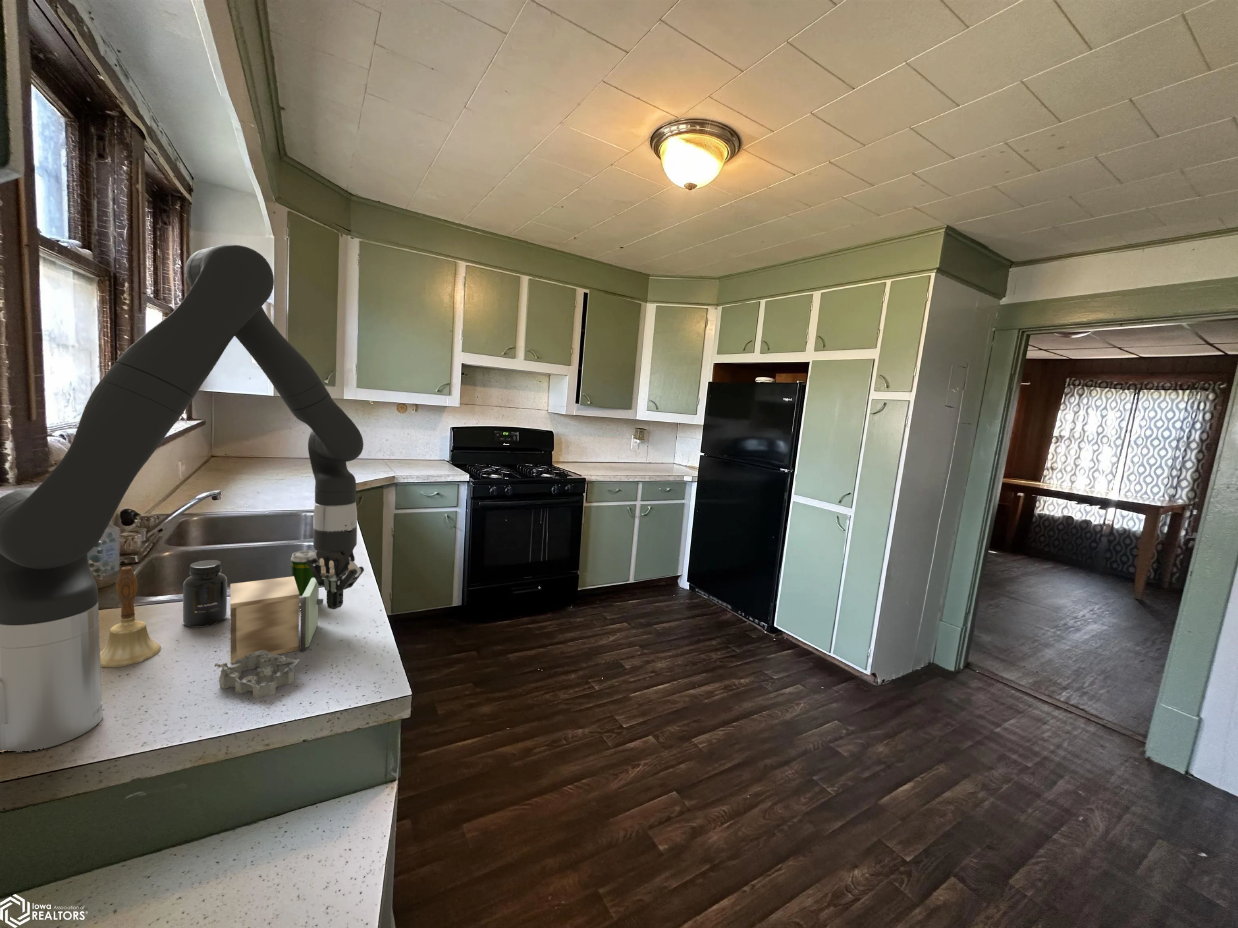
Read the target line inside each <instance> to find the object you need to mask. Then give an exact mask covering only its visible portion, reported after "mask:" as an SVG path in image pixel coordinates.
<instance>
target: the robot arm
mask: <svg viewBox="0 0 1238 928" xmlns="http://www.w3.org/2000/svg"><path fill="white" fill-rule="evenodd" d="M184 269H185V271H184V273H185V277H186V280H187V283H188V285H189V286H190V290H188V293H186V295H185V297H184V298H183V299H182V301H181V302H180V304H179V305H177V307H176V308H175V309H174V310H173V311H172V312H171V313H170V314H169V315H168V316H167V317H165V318H164V319H163V320H162V321H160V322H159V323H157V324H156V325H154V326H153V327H151V329H150V330H148V331H146V333H144V334H143V335H142V336H141V337H140V338H138V339H137V340H136V341H135V342H134V343H133V344H131V345H130V346H129V347H127V349H125V351H123V353H122V354H121V355H120V356H119V357H118V358H117V359H116V361H114V362H115V363H113V364H112V366H111V367H110V368H109V370H108V371H106V373H105V374H104V376H103V377H102V378H101V379H100V381H99V382H98V383H97V385H96V386H95V388H94V389H93V391H92V392H91V394H90V396H89V398H88V400H87V402H86V403H85V406H84V408H83V411H82V414H81V416H80V418H79V419H80V420H79V422H78V426H77V427H76V431H75V434H74V436H73V440H72V442H71V444H70V446H69V447H68V449H67V451H66V453H65V454H64V455H63V458H62V459H60V461H59V463H58V464H57V465H56V467H54V469H52V471H51V472H50V473H49V474H48V476H47V477H46V478H45V479H44V480H43V482H41V483H40V485H39V486H38V487H28V488H22V489H17V490H15V491H11V492H9V493H6V494H5V495H2V496H0V751H2V750H10V751H17V752H16V753H23V752H22V751H29V752H32V751H31V750H35V751H39V750H38V749H40V750H44V749H48V748H52V747H55V746H58V745H61V744H64V743H66V742H69V741H71V740H75V738H77V737H80V736H81V735H84V734H86V733H87V732H89V731H91V730H92V729H94V728H95V727H96V726H97V725H98V724H99V723H100V722H101V721H102V719H103V693H102V688H103V687H102V686H103V685H102V667H101V661H100V652H101V644H100V643H101V641H100V637H101V636H100V619H99V615H100V613H99V592H98V591H99V590H98V584H97V581H96V580H95V578H94V575H93V573H92V570H91V568H90V563H89V558H88V553H90V551H92V549H93V548H95V547H96V546H97V545H98V543H99V542H100V540H101V539H102V537H103V535H104V534H105V532H106V530H107V528H108V526H109V525H110V522H111V521H112V519H113V517H114V515H115V513H116V511H117V509H118V508H119V506H120V504H121V503H122V500H123V499H124V497H125V495H126V493H127V492H128V490H129V488H130V486H131V485H132V482H133V481H134V479H135V478H136V476H138V473H140V471H141V470H142V468H143V467H144V466H145V464H146V463H147V462H148V461H149V460H150V458H151V457H152V455H153V454H154V453H155V451H157V448H158V447H159V446H160V445H161V443H162V442H163V441H164V439H165V438H166V436H167V435H168V433H169V432H170V431H171V429H172V428H173V427H174V426H175V424H176V423H177V422H178V421H179V419H180V418H181V416H182V415H183V414H184V412H186V410H187V408H188V407H189V405H191V402H192V401H193V400H194V398H195V396H196V395H197V393H198V392H199V390H200V389H201V387H202V385H204V384H203V383H205V381H206V380H207V378H208V377H209V375H210V374H211V372H212V371H213V369H214V368H215V367H216V365H217V363H218V361H219V360H220V358H221V357H222V355H223V354H224V352H225V350H226V349H227V347H228V346H229V344H230V343H231V341H232V340H233V339H234V337H235V338H236V339H237V340H238V342H239V343H240V344H241V345H242V346H243V347H244V349H245V350H246V351H247V352H248V353H249V355H250V356H251V357H252V358H253V360H254V361H255V363H256V364H257V365H258V366H259V368H260V369H261V370H262V371H263V373H264V374H265V376H266V377H267V379H268V380H269V382H270V383H271V384H272V385H273V387H274V389H275V390H276V392H277V393H278V394H279V397H281V399H282V400H283V402H284V404H285V405H286V407H287V408H288V410H289V411H290V412H291V414H292V415H293V416H294V417H295V418H296V419H297V420H298V421H300V422H301V423H304V424H305V425H307V426H308V427H309V428H310V429H311V431H310V433H309V436H308V441H307V451H308V456H309V462H310V465H311V466H310V467H311V470H312V474H313V477H314V481H315V483H314V509H313V517H312V518H313V522H312V523H313V525H312V526H313V527H312V528H313V531H312V532H313V533H312V534H313V535H312V539H313V541H312V543H313V545H312V546H313V549H314V551H317V552H316V557H314V558H312V559H309V560H307V564H308V566H309V568H310V570H311V572H312V574H313V575H314V577H315V579H316V581H317V583H318V585H319V587H324V590H325V592H326V604H327V609H331V610H333V611H334V610H337V609H340V608H341V607H342V606H343V604H344V590H347V589H350V588H352V587H353V586H354V584H355V583H356V582H357V581H358V579H359V578H360V577H361V575H362V574H363V573H364V571H365V568H364V566H358V565H357V564H356V563H355V561H356V557H355V555H354V549H355V548H356V546H357V543H358V509H357V481H356V477H355V475H354V474H353V473H352V472H350V470H349V469H348V465H347V462H351V461H355V460H356V459H358V458H359V457H360V455H361V454H362V453H363V449H364V439H363V436H362V433H361V432H360V429H359V428H358V427H357V425H356V424H355V423H354V422H353V420H352V419H351V418H350V417H349V415H348V414H347V413H345V411H344V410H343V409H342V408H341V407H340V406H339V405H338V404H337V403H336V402H335V401H334V399H333V397H332V396H331V394H330V393H329V391H328V389H327V388H326V386H325V385H324V383H323V381H322V379H321V378H320V377H319V374H318V373H317V372H316V371H315V369H314V368H313V366H312V365H311V364H310V362H308V361H307V358H305V357H304V356H303V355H302V354H301V353H300V352H299V351H298V350H297V349H296V348H295V347H294V346H293V345H292V344H291V343H290V342H289V340H287V339H286V338H285V337H284V336H283V334H281V332H280V331H279V330H278V328H277V327H276V326H275V324H273V322H272V321H271V319H270V318H269V316H268V315H267V313H266V311H265V310H264V308H263V306H264V305H265V303H267V301H268V300H269V298H270V296H271V295H272V293H273V290H274V285H275V279H274V272H273V269H272V267H271V265H270V264H269V262H268V261H267V259H266V258H265V257H264V255H262V254H261V253H260V252H257V250H255V249H253V248H251V247H249V246H244V245H239V244H219V245H215V246H211V247H206V248H203V249H199V250H197V251H196V252H194V253H193V254H192V255H191V254H190V256H189V258H188V259H187V261H186V264H185V268H184ZM43 748H44V749H43ZM18 751H19V752H18ZM20 751H21V752H20Z"/></svg>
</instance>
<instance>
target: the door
mask: <svg viewBox="0 0 1238 928" xmlns="http://www.w3.org/2000/svg"><path fill="white" fill-rule="evenodd" d="M303 596H305V597H306V635H305V648H309V646H310V643H311V642H312V639H313V637H314V634H315V631H316V629H317V626H318V623H319V621H318V620H319V618H318V617H319V606H322V605H324V598H319V597H318V583H317V581H316V579H315V578H311V580H310V582H309V584H308V586H307V588H306V590H305V592H304V594H303V595H302V597H303Z"/></svg>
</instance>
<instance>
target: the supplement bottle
mask: <svg viewBox="0 0 1238 928" xmlns="http://www.w3.org/2000/svg"><path fill="white" fill-rule="evenodd" d="M188 574H189V575H190V576H189V577H187V578H186V579H185V580H184V581H183V583H182V622H183V625H185V626H186V627H190V628H191V627H192V628H202V627H209V626H213V625H217V624H219V623H221V622H223V621H224V620H225V619H226V617H227V613H228V612H227V611H228V610H227V609H228V608H227V606H228V577H227V576H226V575H225V574H223V573H222V562H221V561H220V560H217V559H207V560H206V559H205V560H200V561H196V562H192V563H191V564H190V565H189V573H188Z"/></svg>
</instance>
